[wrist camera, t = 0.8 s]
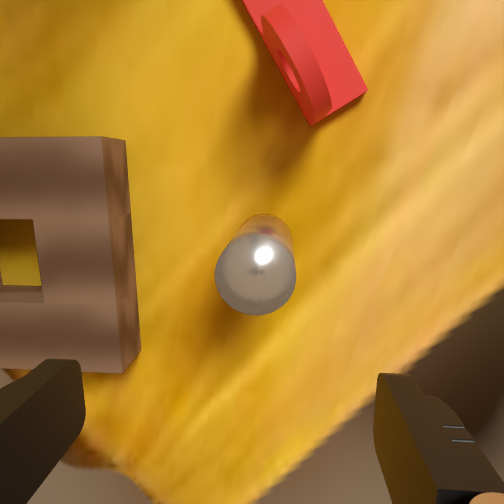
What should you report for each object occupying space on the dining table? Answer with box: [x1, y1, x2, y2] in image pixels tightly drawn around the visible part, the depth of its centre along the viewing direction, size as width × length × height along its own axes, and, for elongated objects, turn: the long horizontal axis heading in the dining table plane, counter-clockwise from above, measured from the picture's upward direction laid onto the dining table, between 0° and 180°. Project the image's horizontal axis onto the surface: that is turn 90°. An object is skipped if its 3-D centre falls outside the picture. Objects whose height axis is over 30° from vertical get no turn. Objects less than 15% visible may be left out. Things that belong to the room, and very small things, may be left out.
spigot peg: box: [215, 214, 296, 315], centre depth 25 cm, size 4×4×10 cm
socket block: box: [0, 136, 141, 374], centre depth 30 cm, size 18×18×4 cm
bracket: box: [241, 0, 368, 127], centre depth 23 cm, size 12×4×8 cm, turn 31°
